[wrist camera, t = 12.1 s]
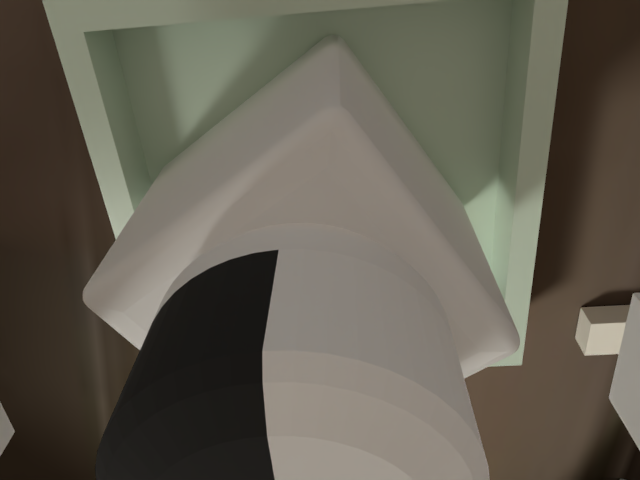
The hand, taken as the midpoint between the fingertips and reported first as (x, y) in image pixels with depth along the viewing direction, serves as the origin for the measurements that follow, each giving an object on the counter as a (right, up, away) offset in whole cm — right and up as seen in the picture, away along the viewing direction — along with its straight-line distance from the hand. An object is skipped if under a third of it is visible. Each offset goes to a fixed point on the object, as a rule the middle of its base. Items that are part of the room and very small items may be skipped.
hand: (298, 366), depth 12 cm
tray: (+1, +5, +7) cm, 9 cm away
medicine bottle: (0, +4, +7) cm, 8 cm away
